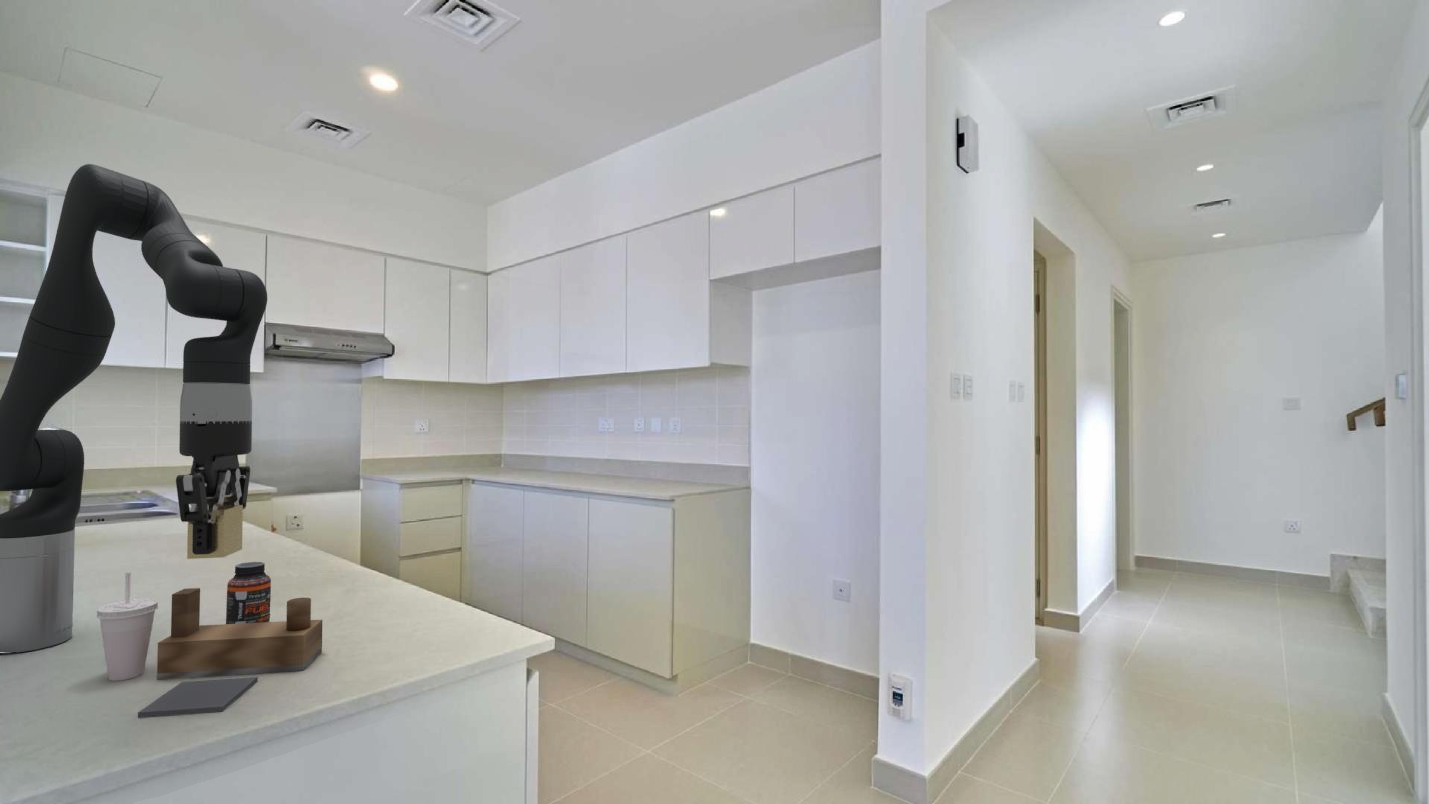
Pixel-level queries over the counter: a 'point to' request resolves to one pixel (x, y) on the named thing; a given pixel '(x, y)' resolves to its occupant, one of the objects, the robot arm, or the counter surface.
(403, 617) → the counter surface
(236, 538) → the brushed brass block
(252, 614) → the supplement bottle
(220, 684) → the mat
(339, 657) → the counter surface
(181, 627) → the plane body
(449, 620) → the counter surface
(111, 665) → the smoothie
